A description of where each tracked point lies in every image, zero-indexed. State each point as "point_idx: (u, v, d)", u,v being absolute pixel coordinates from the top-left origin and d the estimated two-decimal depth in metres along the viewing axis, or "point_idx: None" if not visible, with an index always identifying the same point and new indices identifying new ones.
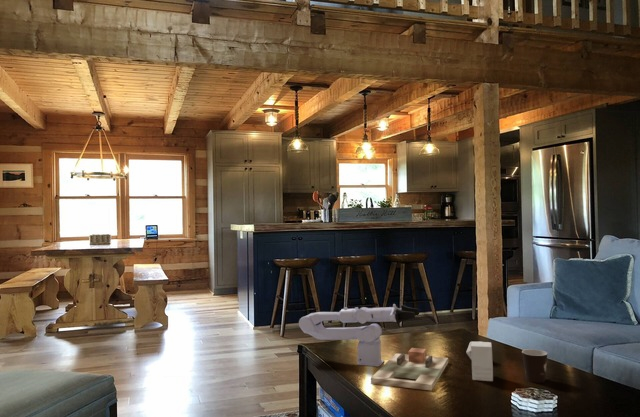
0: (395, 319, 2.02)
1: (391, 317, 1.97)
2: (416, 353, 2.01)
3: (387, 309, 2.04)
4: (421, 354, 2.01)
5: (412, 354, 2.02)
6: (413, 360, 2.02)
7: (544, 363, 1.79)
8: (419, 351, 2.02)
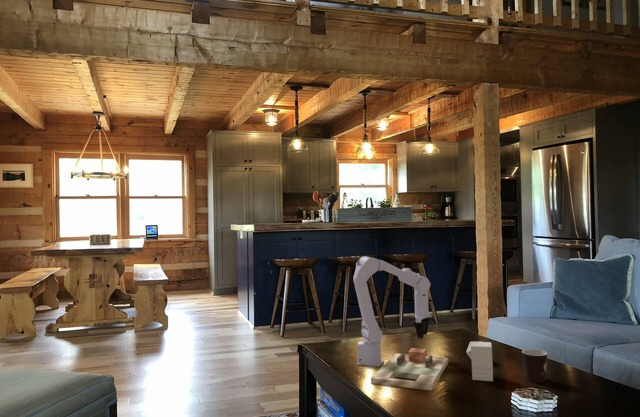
0: (416, 317, 2.12)
1: (418, 319, 2.07)
2: (416, 353, 2.01)
3: (426, 310, 2.11)
4: (421, 354, 2.01)
5: (412, 354, 2.02)
6: (413, 360, 2.02)
7: (544, 363, 1.79)
8: (419, 351, 2.02)
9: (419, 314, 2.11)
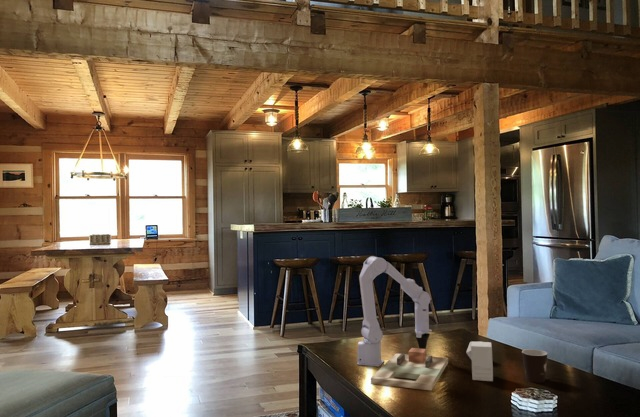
0: None
1: (418, 334, 2.07)
2: (416, 353, 2.01)
3: (426, 325, 2.11)
4: (421, 354, 2.01)
5: (412, 354, 2.02)
6: (413, 360, 2.02)
7: (544, 363, 1.79)
8: (419, 351, 2.02)
9: (419, 329, 2.11)
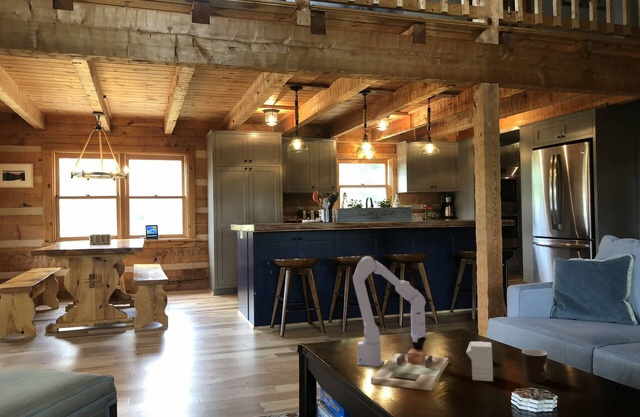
0: None
1: (414, 339, 2.00)
2: (416, 354, 1.99)
3: (422, 328, 2.04)
4: (420, 355, 1.99)
5: (411, 355, 2.00)
6: (412, 361, 2.00)
7: (544, 363, 1.79)
8: (418, 352, 2.00)
9: (415, 333, 2.04)
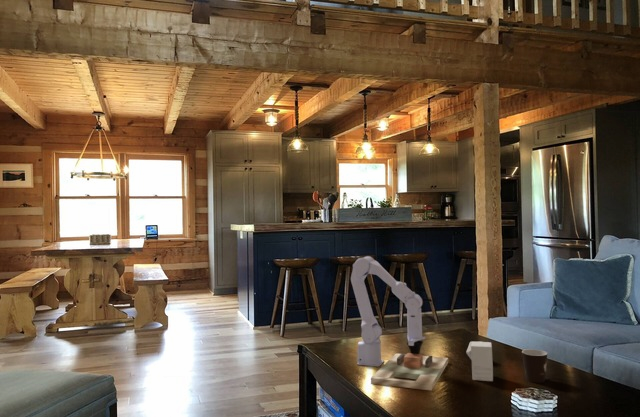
0: (409, 339, 1.99)
1: (410, 342, 1.94)
2: (412, 359, 1.94)
3: (419, 332, 1.98)
4: (417, 360, 1.93)
5: (408, 360, 1.94)
6: (408, 365, 1.94)
7: (544, 363, 1.79)
8: (415, 356, 1.95)
9: (412, 336, 1.98)
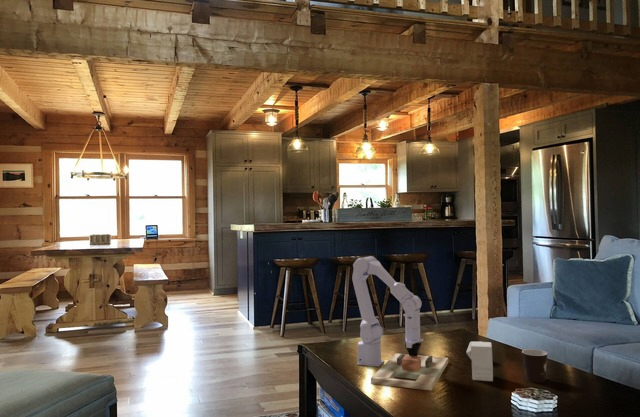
0: (407, 341, 1.96)
1: (408, 344, 1.91)
2: (410, 361, 1.90)
3: (417, 334, 1.95)
4: (415, 362, 1.90)
5: (406, 362, 1.91)
6: (406, 368, 1.91)
7: (544, 363, 1.79)
8: (413, 359, 1.91)
9: (410, 338, 1.95)
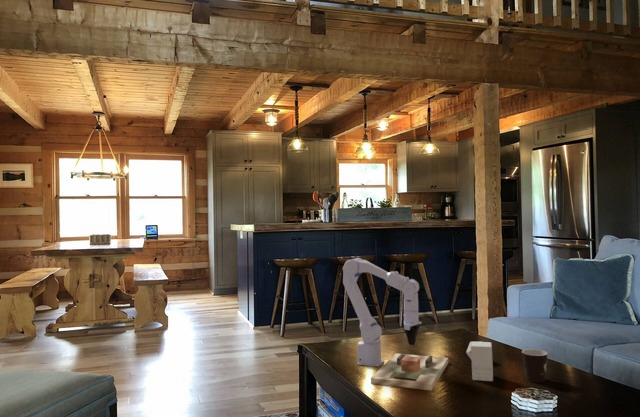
0: None
1: (406, 326, 1.94)
2: (409, 362, 1.89)
3: (415, 316, 1.98)
4: (414, 363, 1.89)
5: (405, 363, 1.90)
6: (405, 369, 1.90)
7: (544, 363, 1.79)
8: (412, 360, 1.90)
9: (408, 321, 1.98)
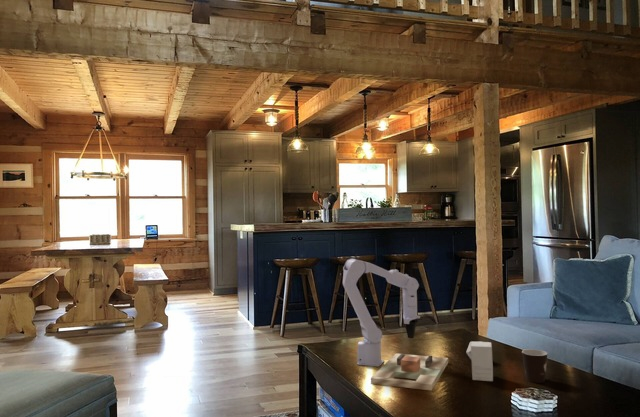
0: (405, 318, 2.10)
1: (406, 320, 2.05)
2: (409, 362, 1.89)
3: (414, 311, 2.09)
4: (414, 363, 1.89)
5: (405, 363, 1.90)
6: (405, 369, 1.90)
7: (544, 363, 1.79)
8: (412, 360, 1.90)
9: (407, 315, 2.09)
